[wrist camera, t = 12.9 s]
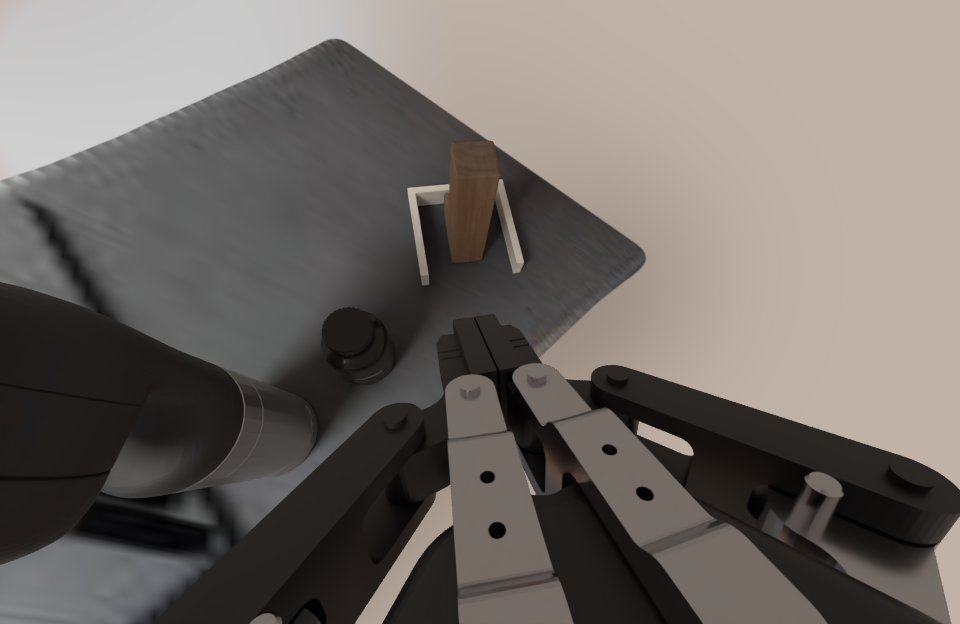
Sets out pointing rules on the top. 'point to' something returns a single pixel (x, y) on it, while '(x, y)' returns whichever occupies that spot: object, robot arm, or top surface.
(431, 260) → the top surface
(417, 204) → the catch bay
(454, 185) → the wooden block
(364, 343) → the supplement bottle
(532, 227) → the top surface
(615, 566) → the robot arm
